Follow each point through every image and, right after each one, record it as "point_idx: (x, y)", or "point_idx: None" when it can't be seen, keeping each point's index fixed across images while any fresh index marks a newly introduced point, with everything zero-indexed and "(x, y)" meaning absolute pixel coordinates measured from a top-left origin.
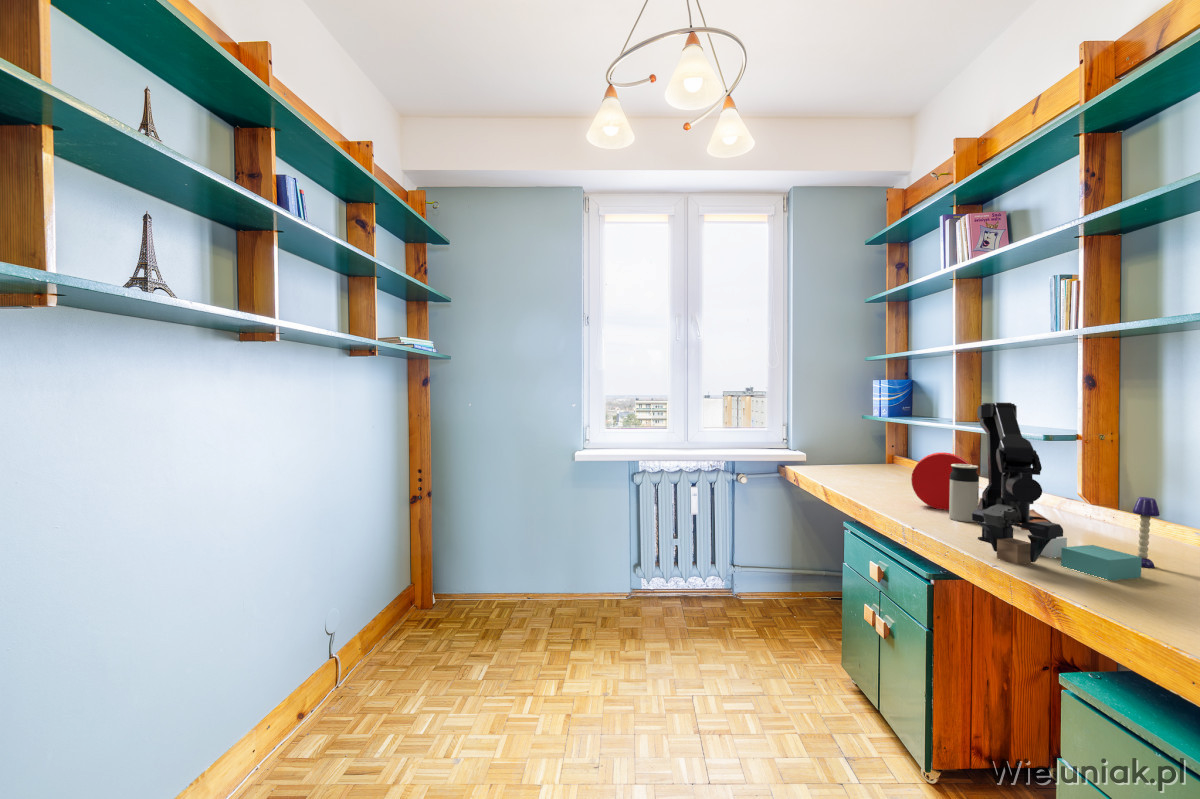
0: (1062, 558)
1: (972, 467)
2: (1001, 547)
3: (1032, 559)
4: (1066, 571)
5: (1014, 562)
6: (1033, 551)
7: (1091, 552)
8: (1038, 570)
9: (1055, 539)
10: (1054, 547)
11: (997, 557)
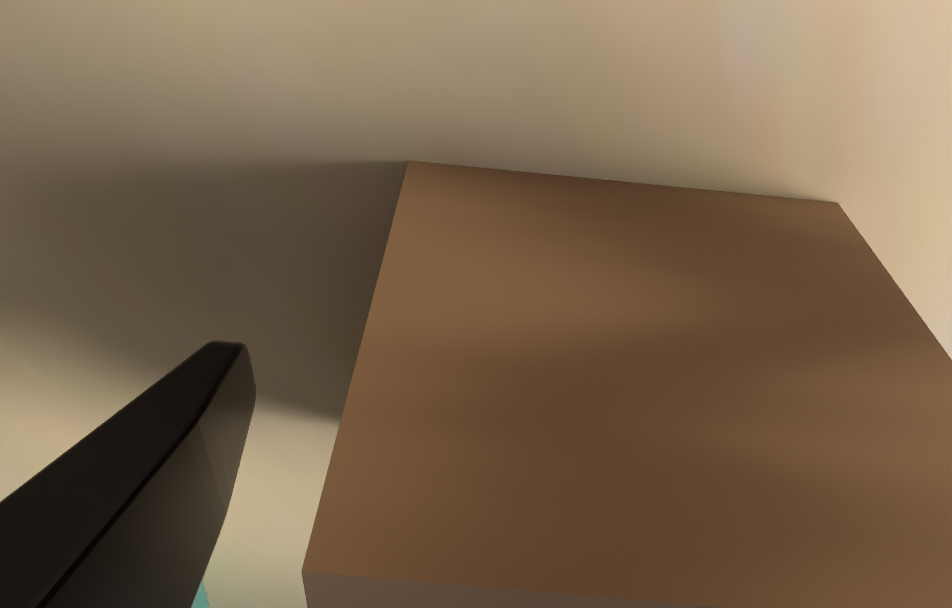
0: None
1: None
2: (849, 400)
3: (175, 369)
4: (3, 446)
5: (461, 184)
6: (4, 519)
7: None
8: (28, 169)
9: None
10: None
11: (834, 218)
